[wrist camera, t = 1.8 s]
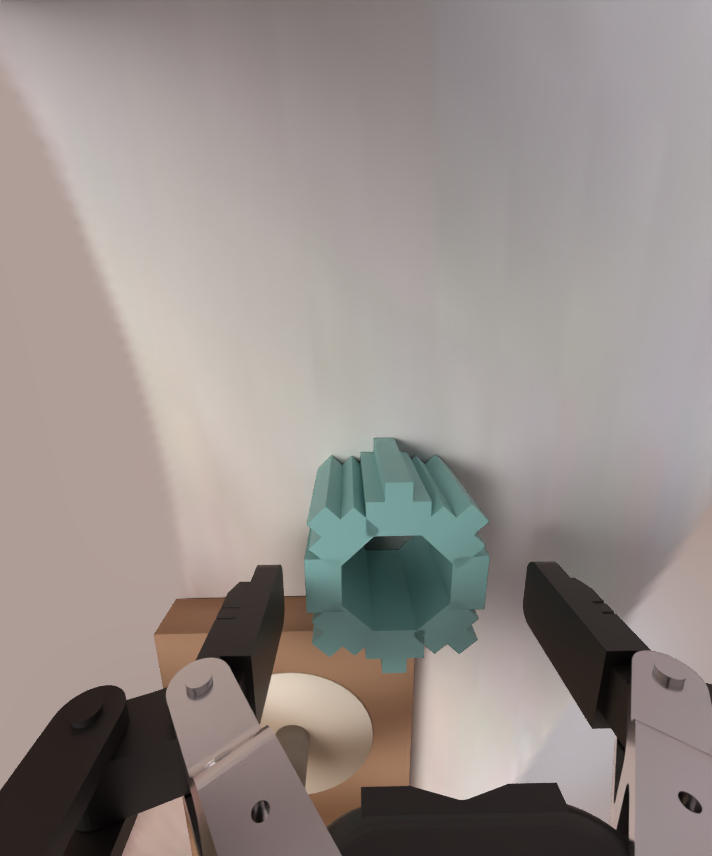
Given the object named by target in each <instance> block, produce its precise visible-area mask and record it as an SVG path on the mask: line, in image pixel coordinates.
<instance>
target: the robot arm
mask: <svg viewBox="0 0 712 856" xmlns="http://www.w3.org/2000/svg"><path fill="white" fill-rule="evenodd" d="M523 610H524V615H525V619H526V621H527V624H528V625H529V627H530V629H531V630H532V632H533V634H534V635H535V637H536V638H537V640H538V642H539V643H540V645H541V647H542V648H543V650H544V651H545V653H546V655H547V656H548V658H549V659H550V661H551V663H552V664H553V666H554V668H555V669H556V671H557V672H558V674H559V676H560V677H561V679H562V681H563V682H564V684H565V685H566V687H567V689H568V690H569V692H570V693H571V695H572V697H573V698H574V700H575V702H576V703H577V705H578V706H579V708H580V710H581V711H582V713H583V715H584V716H585V718H586V719H587V721H588V723H589V724H590V726H591V727H592V729H595V728H611V729H612V730H613V732H614V733H615V735H616V740H615V746H614V759H613V776H612V793H611V811H610V823H609V825H608V824H607V823H605V822H604V821H602V820H601V819H599V818H597V817H595V816H593V815H592V814H590V813H587V812H586V811H583V810H581V809H579V808H576V807H574V806H571V805H568V804H566V802H565V800H564V798H563V796H562V794H561V791H560V789H559V787H558V785H557V783H524V784H507V785H504V786H502V787H499V788H496V789H494V790H491V791H488V792H486V793H483V794H480V795H478V796H475V797H472V798H470V799H467V800H457V799H454V798H450V797H447V796H443V795H440V794H436V793H433V792H429V791H426V790H422V789H419V788H415V787H411V786H378V787H361V807H358V808H356V809H353V810H351V811H349V812H347V813H345V814H344V815H342V816H340V817H338V818H337V819H336V820H334V821H333V822H332V823H330V824H329V825H328V826H327V827H326V826H325V824H324V822H323V820H322V819H321V817H320V815H319V813H318V811H317V810H316V808H315V806H314V804H313V802H312V800H311V799H310V797H309V795H308V793H307V791H306V790H305V788H304V786H303V784H302V782H301V780H300V779H299V777H298V775H297V773H296V771H295V770H294V768H293V766H292V764H291V762H290V760H289V759H288V757H287V755H286V753H285V751H284V749H283V748H282V746H281V744H280V742H279V740H278V739H277V737H276V735H275V733H274V732H273V730H272V729H271V728H270V727H269V726H268V725H266V726H265V727H263V728H262V727H261V726H260V723H261V718H262V714H263V710H264V706H265V701H266V697H267V693H268V689H269V684H270V680H271V676H272V672H273V667H274V663H275V659H276V655H277V650H278V646H279V642H280V638H281V633H282V629H283V624H284V613H285V605H284V588H283V572H282V566H281V565H258V566H257V567H256V570H255V572H254V575H253V577H252V580H251V582H239V583H238V584H237V585H236V586H235V587H234V588H233V589H232V590H231V591H230V592H228V594H227V596H226V598H225V600H224V602H223V604H222V608H221V609H220V610H219V612H218V615H217V617H216V620H215V621H214V623H213V625H212V627H211V629H210V631H209V633H208V635H207V637H206V639H205V641H204V644H203V646H202V648H201V650H200V652H199V654H198V656H197V658H196V660H195V661H194V662H192V663H190V664H188V665H186V666H185V667H184V668H182V669H181V670H180V671H179V672H178V673H177V674H176V675H175V676H174V677H173V678H172V680H171V681H170V683H169V685H168V687H166V688H164V689H162V690H158V691H156V692H153V693H149V694H146V695H142V696H139V697H136V698H132V699H129V700H126V697H125V693H124V691H123V690H122V689H120V688H119V687H117V686H112V685H105V686H99V687H96V688H93V689H90V690H88V691H86V692H84V693H82V694H80V695H78V696H76V697H75V698H73V699H72V700H70V701H69V702H68V703H67V704H65V705H64V706H63V707H62V708H61V709H60V710H59V711H58V712H57V713H56V715H55V716H54V717H53V718H52V720H51V721H50V722H49V724H48V725H47V727H46V728H45V729H44V731H43V732H42V734H41V735H40V736H39V738H38V739H37V740H36V742H35V743H34V745H33V746H32V747H31V749H30V750H29V752H28V753H27V755H26V756H25V757H24V758H23V760H22V761H21V763H20V764H19V765H18V767H17V768H16V769H15V771H14V772H13V774H12V775H11V776H10V778H9V779H8V781H7V782H6V783H5V785H4V786H3V787H2V789H1V790H0V856H122V853H123V850H124V848H125V845H126V843H127V840H128V838H129V835H130V833H131V830H132V828H133V825H134V823H135V820H136V818H137V815H138V813H140V812H143V811H146V810H148V809H151V808H153V807H156V806H158V805H161V804H163V803H166V802H168V801H171V800H174V799H176V798H179V797H181V796H182V798H183V801H184V805H185V809H186V812H187V816H188V820H189V823H190V827H191V831H192V835H193V838H194V842H195V846H196V849H197V853H198V856H712V684H708V683H705V682H704V680H703V679H702V678H701V677H700V676H699V675H698V674H697V673H696V672H695V671H694V670H693V669H691V668H690V667H688V666H687V665H686V664H684V663H682V662H681V661H679V660H677V659H675V658H673V657H671V656H669V655H666V654H663V653H660V652H655V651H651V650H650V649H649V648H648V647H647V646H646V645H645V644H644V643H643V642H642V641H641V639H639V637H638V636H637V635H636V634H635V633H634V632H633V631H632V630H631V629H630V628H629V627H628V626H627V625H626V624H625V623H624V622H623V621H622V620H621V619H620V618H619V617H618V616H617V614H614V611H613V610H612V609H611V608H610V607H609V606H608V605H607V604H604V601H603V600H602V599H601V598H600V597H599V596H598V595H597V594H596V593H595V592H594V591H593V589H592V588H590V587H588V586H587V585H585V584H584V583H582V582H580V581H579V580H577V579H576V578H570V577H569V576H568V575H567V574H566V572H565V571H564V570H563V569H562V568H561V567H560V566H559V565H558V564H557V563H556V562H530V563H529V564H528V567H527V573H526V582H525V591H524V599H523Z"/></svg>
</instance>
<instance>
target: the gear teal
mask: <svg viewBox="0 0 712 856" xmlns="http://www.w3.org/2000/svg"><path fill="white" fill-rule="evenodd" d="M488 522H489V521H488V519H487V518H486V517H485V515H484V514H483V512H482V511H481V510H480V508H479V507H478V506H477V504H476V503H475V502H474V500H473V499H472V498H471V496H470V495H469V494H468V492H467V491H466V490H465V488H464V487H463V486H462V484H461V483H460V482H459V480H458V479H457V478H456V476H455V475H454V474H453V472H452V471H451V470H450V468H449V467H448V466H447V465H446V464H445V463H444V462H443V461H442V460H441V459H440V458H439V457H438V456H437V455H436V454H435V455H434V456H433V457H432V458H431V459H430V460H429V461H428V462H427V463H425V464H424V463H423V462H422V461H421V460H420V459H419V458H418V457H417V456H416V455H415V456H414V457H413V458H412V459H410V457H409V455H408V453H407V452H400V450H399V448H398V446H397V444H396V441H395V439H394V438H374V452H360V463H359V462H358V461H356V460H355V459H354V458H353V457H352V456H351V457H350V458H349V459H348V460H347V461H346V462H345V463H344V464H343V465H341V464H340V463H339V462H338V461H337V460H336V459H335V458H334V457H333V456H332V455H331V456H330V457H329V458H328V459H327V460H326V461H325V462H324V463H323V464H322V465H321V466H320V467H319V468H318V471H317V476H316V481H315V486H314V491H313V496H312V500H311V505H310V510H309V515H308V520H307V525H308V526H309V527H310V531H309V537H308V542H307V548H306V553H305V559H304V565H305V586H306V608H307V613H313V617H312V623H313V624H314V627H313V636H312V644H313V645H314V646H316V647H317V648H318V649H319V650H321V651H322V652H323V653H325V654H326V655H327V656H329V657H331V656H332V655H333V654H334V653H335V652H337V651H338V650H339V649H340V648H341V647H342V646H343V647H344V648H345V649H347V650H348V651H349V652H350V653H352V654H353V655H354V656H355V655H356V654H357V653H359V652H360V651H361V650H362V649H363V648H365V656H366V659H381V666H382V673H406V668H407V658H424V645H425V646H426V647H427V648H428V649H429V650H431V651H432V652H433V653H434V654H435V653H436V652H438V651H439V650H440V649H441V648H443V647H444V646H445V645H446V644H448V645H449V646H450V647H451V648H453V649H454V650H455V651H456V652H457V653H459V654H460V653H461V652H463V651H464V650H465V649H466V648H468V647H469V646H470V645H472V644H473V643H474V642H475V641H477V640H478V639H477V637H476V634H475V632H474V629H473V627H472V625H471V624H473V623H474V622H475V621H476V620H478V619H479V618H478V616H477V614H476V612H475V609H484V607H485V597H486V587H487V577H488V567H489V557H490V556H489V555H488V553H487V551H486V550H485V548H484V547H485V544H484V543H483V541H482V539H481V538H480V536H479V535H478V533H477V532H478V531H479V530H480V529H481V528H482V527H483V526H485V525H486V524H487V523H488ZM374 536H413V537H412V538H411V539H410V540H409V541H408V542H406V543H405V544H404V545H403V546H402V547H401V548H400V549H399V550H365V549H364V548H363V546H364V545H365V544H366V543H367V542H369V541H370V540H371V539H372V538H373V537H374Z"/></svg>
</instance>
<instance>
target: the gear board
mask: <svg viewBox="0 0 712 856" xmlns="http://www.w3.org/2000/svg"><path fill="white" fill-rule="evenodd" d="M224 600H225V598H203V599H176V600H175V602H174V604H173V605H172V607H171V608H170V610H169V612H168V613H167V615H166V616H165V618H164V619H163V621H162V623H161V624H160V626H159V627H158V629H157V631H156V632H155V634H154V638H155V644H156V650H157V655H158V661H159V667H160V672H161V678H162V683H163V689H164V688H166V687H168V685H169V683H170V681H171V680H172V678H173V677H174V676H175V675H176V674H177V673H178V672H179V671H180V670H181V669H182V668H184V667H185V666H186V665H188V664H190V663H192V662H194V661H195V660H196V658H197V656H198V654H199V652H200V650H201V648H202V646H203V644H204V641H205V639H206V637H207V635H208V633H209V631H210V629H211V627H212V625H213V623H214V621H215V620H216V617H217V615H218V612H219V610H220V609H221V608H222V604H223V602H224ZM284 605H285V613H284V624H283V629H282V633H281V638H280V642H279V646H278V650H277V655H276V659H275V663H274V667H273V672H272V676H271V680H270V684H269V689H268V693H267V697H266V701H265V706H264V710H263V714H262V718H261V723H260V726H261V727H262V728H263V727H265V726H266V725H268V726H269V727H270V728H271V729H272V730H273V732H274V733H275V735H276V737H277V739H278V740H279V742H280V744H281V746H282V748H283V749H284V751H285V753H286V755H287V757H288V759H289V760H290V762H291V764H292V766H293V768H294V770H295V771H296V773H297V775H298V777H299V779H300V780H301V782H302V784H303V786H304V788H305V790H306V791H307V793H308V795H309V797H310V799H311V800H312V802H313V804H314V806H315V808H316V810H317V811H318V813H319V815H320V817H321V819H322V820H323V822H324V824H325V826H326V827H327V826H328V825H329V824H330V823H332V822H333V821H334V820H336V819H337V818H338V817H340V816H342V815H344V814H345V813H347V812H349V811H351V810H353V809H356V808H358V807H361V787H378V786H409V774H410V752H411V729H412V707H413V685H414V662H415V658H407V668H406V673H382V666H381V659H366V656H365V648H363V649H362V650H361V651H360V652H359V653H357V654H356V655H355V656H354V655H353V654H352V653H350V652H349V651H348V650H347V649H345V648H344V647H343V646H342V647H341V648H340V649H339V650H338V651H337V652H335V653H334V654H333V655H332V656H331V657H329V656H327V655H326V654H325V653H323V652H322V651H321V650H319V649H318V648H317V647H316V646H314V645H313V644H312V636H313V627H314V624H313V623H312V617H313V613H307V608H306V596H298V597H284ZM183 804H184V801H183ZM184 809H185V805H184ZM185 815H186V821H187V827H188V832H189V838H190V844H191V849H192V855H193V856H198V853H197V849H196V846H195V842H194V838H193V835H192V831H191V827H190V823H189V820H188V816H187V812H186V809H185Z"/></svg>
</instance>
